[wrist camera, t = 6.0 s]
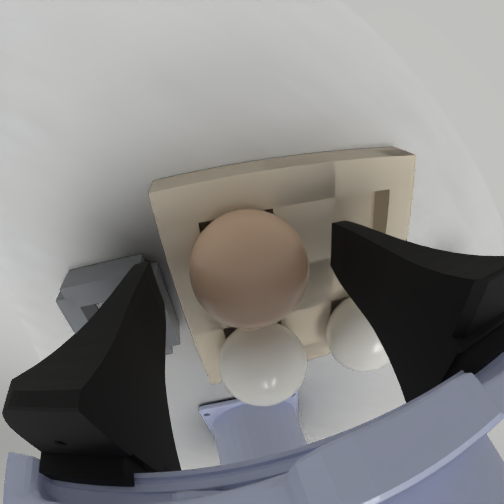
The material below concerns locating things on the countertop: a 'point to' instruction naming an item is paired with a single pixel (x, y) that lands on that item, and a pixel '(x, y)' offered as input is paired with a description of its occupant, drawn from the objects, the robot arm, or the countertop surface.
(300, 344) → the white egg
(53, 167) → the countertop surface
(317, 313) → the carton
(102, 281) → the egg stand
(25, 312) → the countertop surface
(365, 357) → the white egg
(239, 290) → the brown egg
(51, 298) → the countertop surface
